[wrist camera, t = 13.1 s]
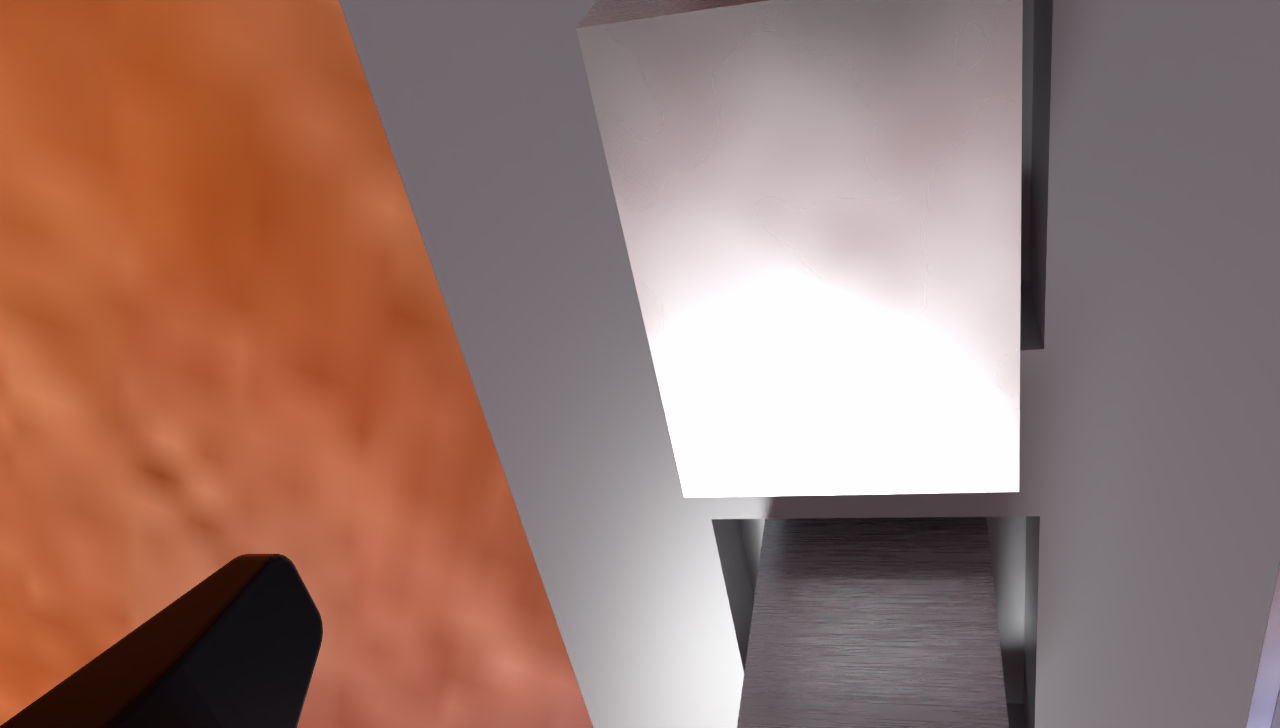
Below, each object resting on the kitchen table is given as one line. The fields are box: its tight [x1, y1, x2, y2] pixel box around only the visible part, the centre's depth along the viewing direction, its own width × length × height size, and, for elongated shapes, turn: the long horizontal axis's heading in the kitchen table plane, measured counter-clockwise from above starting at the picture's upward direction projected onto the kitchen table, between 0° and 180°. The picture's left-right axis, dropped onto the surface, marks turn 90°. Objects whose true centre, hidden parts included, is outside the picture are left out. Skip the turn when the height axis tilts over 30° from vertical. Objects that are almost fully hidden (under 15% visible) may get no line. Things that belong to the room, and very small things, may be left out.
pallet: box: [339, 0, 1280, 728], centre depth 18 cm, size 22×13×3 cm, turn 12°
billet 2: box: [737, 517, 1009, 728], centre depth 19 cm, size 6×4×6 cm, turn 12°
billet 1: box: [576, 0, 1023, 497], centre depth 13 cm, size 6×4×6 cm, turn 12°
